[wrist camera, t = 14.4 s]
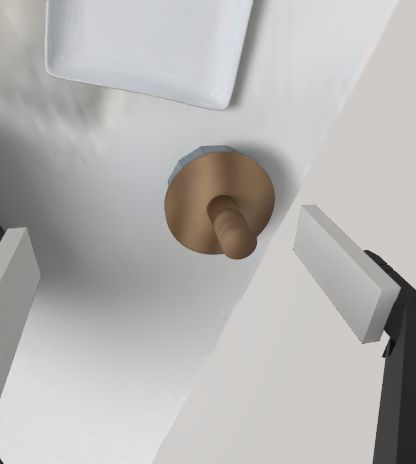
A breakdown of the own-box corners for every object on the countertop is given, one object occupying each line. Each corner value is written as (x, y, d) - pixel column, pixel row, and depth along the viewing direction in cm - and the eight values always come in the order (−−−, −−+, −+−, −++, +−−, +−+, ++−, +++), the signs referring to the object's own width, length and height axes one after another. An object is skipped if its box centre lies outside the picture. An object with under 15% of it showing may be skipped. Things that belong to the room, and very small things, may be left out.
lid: (166, 254, 50) (174, 302, 41) (162, 153, 42) (171, 186, 33) (265, 245, 52) (292, 288, 44) (278, 148, 45) (314, 179, 36)
